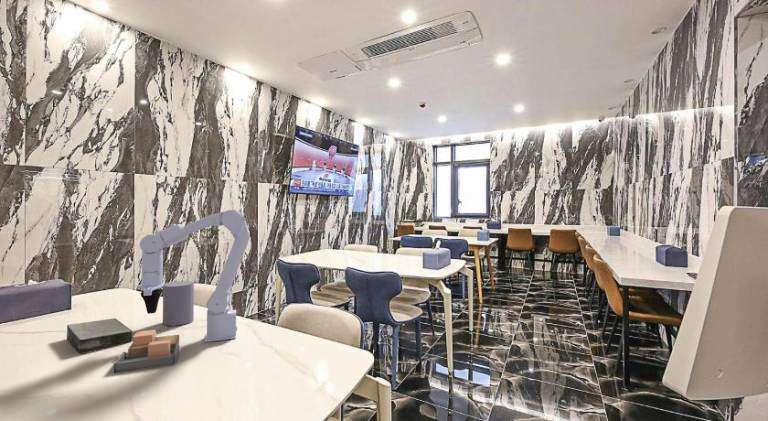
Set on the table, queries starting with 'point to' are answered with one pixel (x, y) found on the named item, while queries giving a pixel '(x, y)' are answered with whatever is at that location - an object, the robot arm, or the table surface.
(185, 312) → the container
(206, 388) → the table surface
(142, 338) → the tile
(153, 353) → the tile
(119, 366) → the tray
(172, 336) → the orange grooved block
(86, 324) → the stone block
